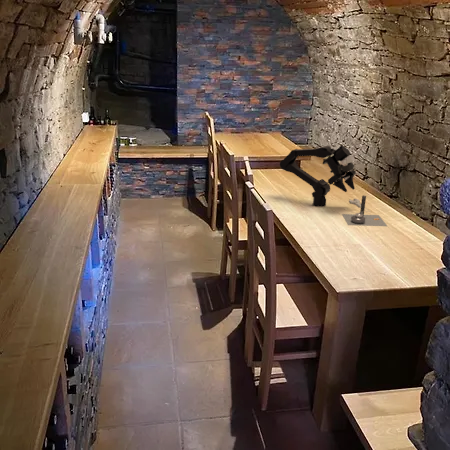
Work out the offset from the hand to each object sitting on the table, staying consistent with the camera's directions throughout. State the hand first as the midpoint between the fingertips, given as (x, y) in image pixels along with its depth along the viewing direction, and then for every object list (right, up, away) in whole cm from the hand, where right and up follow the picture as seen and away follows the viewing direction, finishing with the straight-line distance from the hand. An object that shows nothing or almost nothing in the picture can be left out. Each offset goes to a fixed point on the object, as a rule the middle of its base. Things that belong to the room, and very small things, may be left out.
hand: (350, 190), depth 263 cm
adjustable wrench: (+9, -9, +17) cm, 21 cm away
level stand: (+6, -17, -6) cm, 19 cm away
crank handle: (+2, -16, -7) cm, 17 cm away
